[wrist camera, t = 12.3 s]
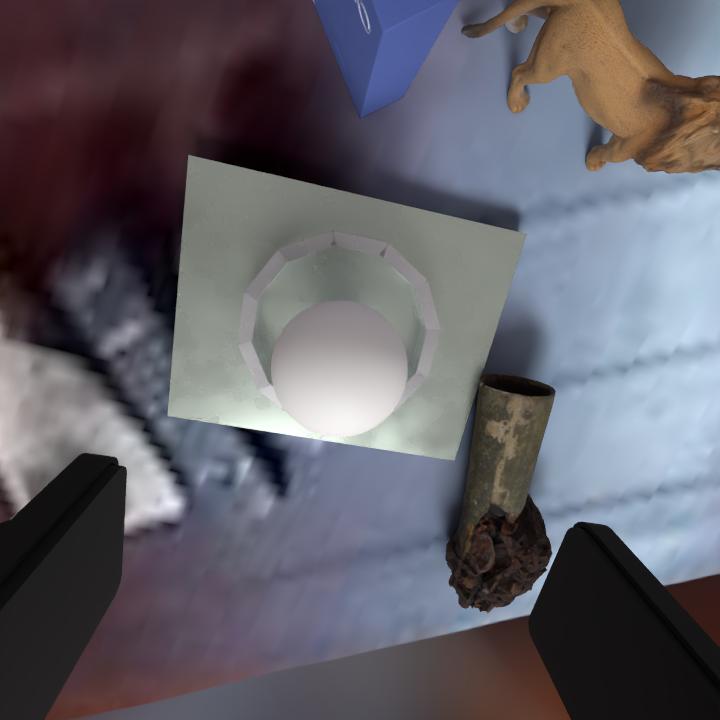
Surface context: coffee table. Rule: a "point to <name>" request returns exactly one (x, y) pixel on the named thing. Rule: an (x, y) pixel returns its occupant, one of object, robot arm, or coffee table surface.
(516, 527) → the brown camo elongated piece
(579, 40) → the lion figurine
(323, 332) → the lightbulb
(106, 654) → the coffee table surface
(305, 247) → the duct collar
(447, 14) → the walkman
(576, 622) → the robot arm
